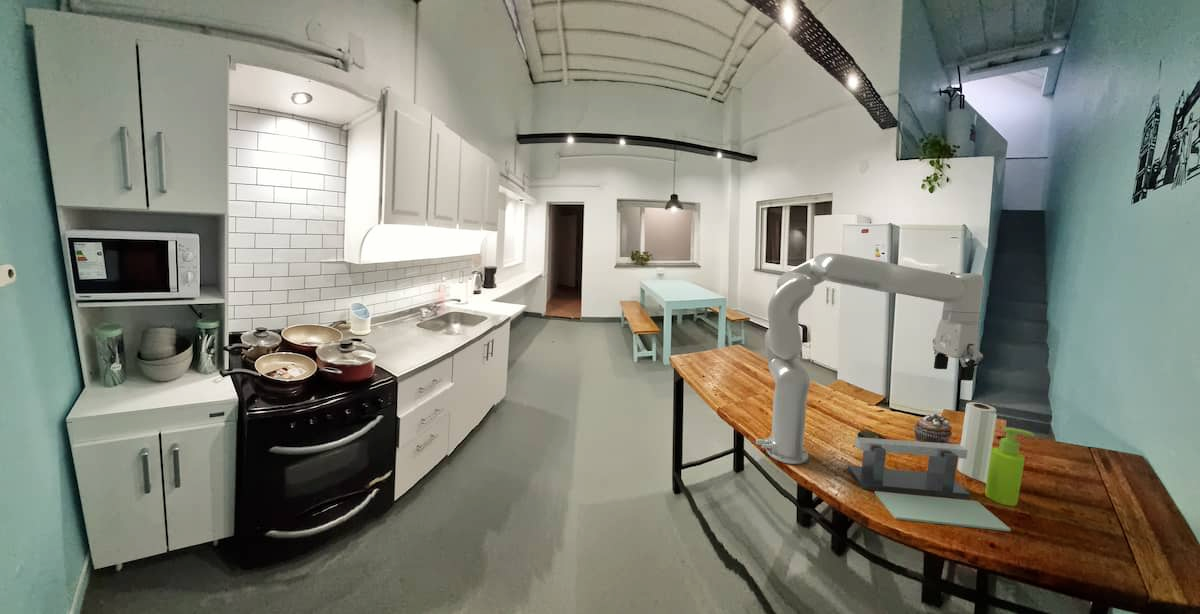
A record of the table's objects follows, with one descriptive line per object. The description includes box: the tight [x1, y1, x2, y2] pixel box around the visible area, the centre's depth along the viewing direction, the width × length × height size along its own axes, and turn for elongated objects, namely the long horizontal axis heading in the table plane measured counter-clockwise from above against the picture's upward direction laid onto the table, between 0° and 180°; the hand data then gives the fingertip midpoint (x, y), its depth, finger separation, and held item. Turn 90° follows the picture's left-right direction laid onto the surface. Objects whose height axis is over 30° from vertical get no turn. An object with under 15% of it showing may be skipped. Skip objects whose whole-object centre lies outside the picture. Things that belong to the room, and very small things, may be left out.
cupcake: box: [913, 413, 953, 444], centre depth 125 cm, size 10×10×10 cm
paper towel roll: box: [956, 401, 998, 484], centre depth 107 cm, size 7×6×21 cm
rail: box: [854, 436, 968, 459], centre depth 103 cm, size 26×3×2 cm, turn 78°
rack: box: [846, 447, 972, 500], centre depth 104 cm, size 26×9×12 cm, turn 78°
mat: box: [874, 490, 1012, 532], centre depth 94 cm, size 24×10×1 cm, turn 78°
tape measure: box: [856, 428, 886, 439], centre depth 126 cm, size 7×7×4 cm
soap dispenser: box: [984, 426, 1036, 507], centre depth 96 cm, size 6×7×20 cm
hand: (952, 374), depth 107 cm, fingers open, 9 cm apart
